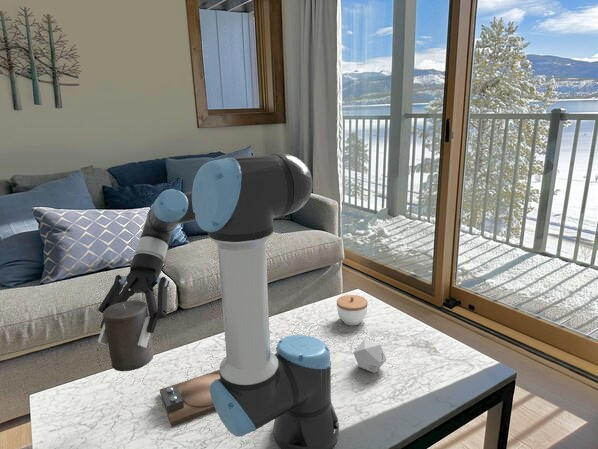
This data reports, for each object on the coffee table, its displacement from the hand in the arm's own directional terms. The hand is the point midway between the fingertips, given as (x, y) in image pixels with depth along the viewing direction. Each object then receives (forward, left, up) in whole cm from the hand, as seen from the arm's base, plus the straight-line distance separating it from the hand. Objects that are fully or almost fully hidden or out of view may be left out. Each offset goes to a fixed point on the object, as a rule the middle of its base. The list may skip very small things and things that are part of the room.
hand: (121, 344), depth 96 cm
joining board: (0, -18, -21) cm, 28 cm away
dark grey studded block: (0, -18, -19) cm, 27 cm away
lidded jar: (+12, -74, -21) cm, 78 cm away
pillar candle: (+2, -2, -6) cm, 7 cm away
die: (-13, -62, -21) cm, 67 cm away
